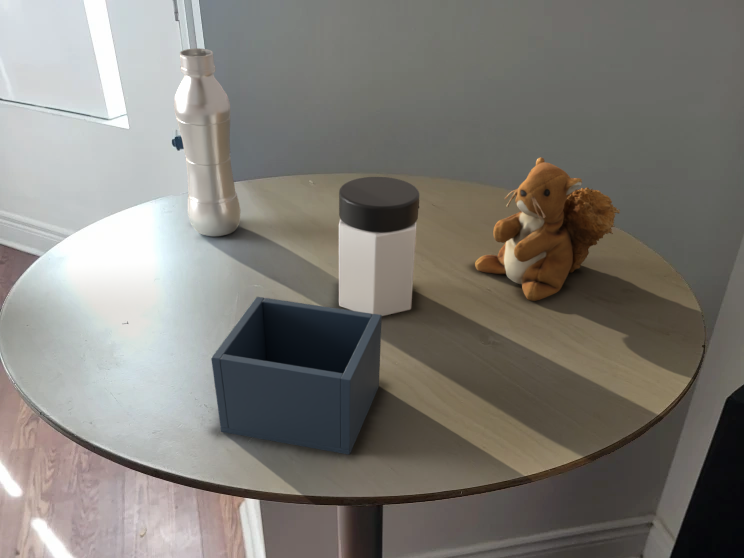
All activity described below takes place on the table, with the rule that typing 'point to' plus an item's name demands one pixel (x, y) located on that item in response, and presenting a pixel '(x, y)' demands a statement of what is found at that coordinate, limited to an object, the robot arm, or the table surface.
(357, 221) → the jar
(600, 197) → the stuffed squirrel
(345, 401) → the bin
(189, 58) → the silver metal bottle
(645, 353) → the table surface
